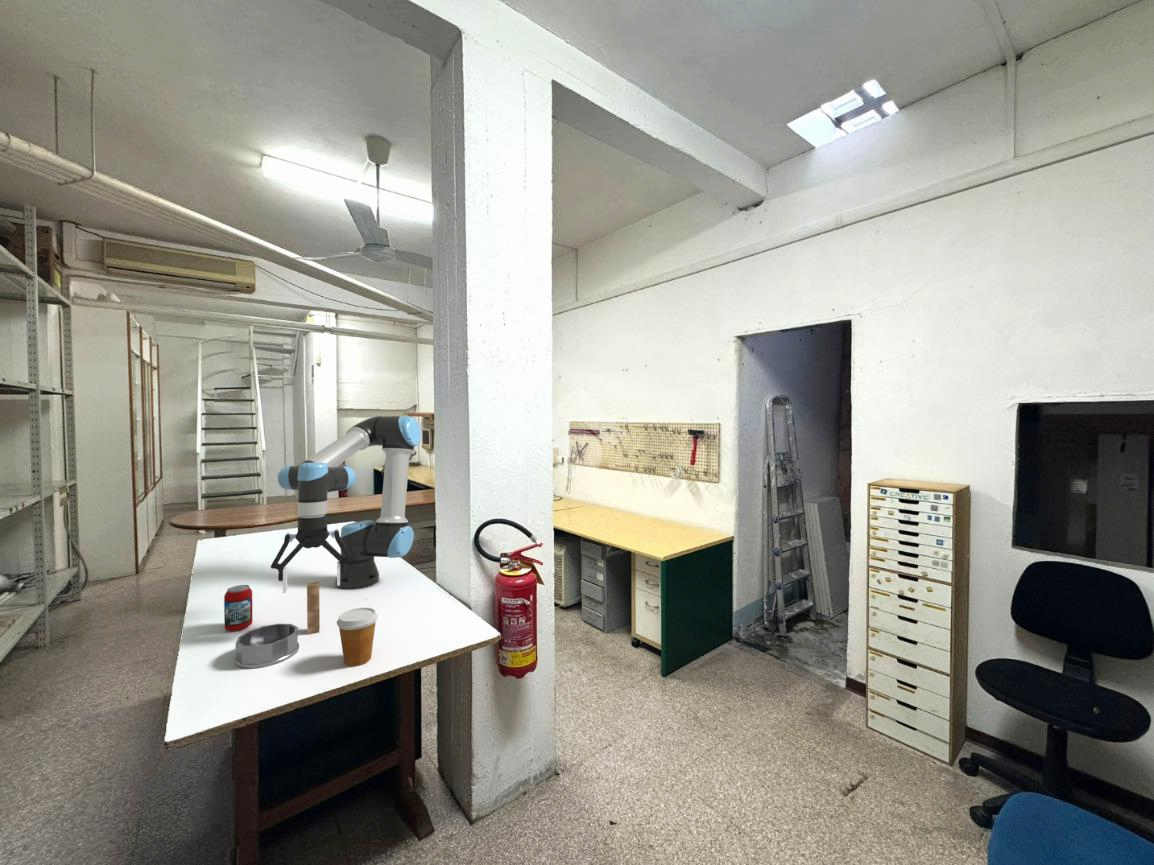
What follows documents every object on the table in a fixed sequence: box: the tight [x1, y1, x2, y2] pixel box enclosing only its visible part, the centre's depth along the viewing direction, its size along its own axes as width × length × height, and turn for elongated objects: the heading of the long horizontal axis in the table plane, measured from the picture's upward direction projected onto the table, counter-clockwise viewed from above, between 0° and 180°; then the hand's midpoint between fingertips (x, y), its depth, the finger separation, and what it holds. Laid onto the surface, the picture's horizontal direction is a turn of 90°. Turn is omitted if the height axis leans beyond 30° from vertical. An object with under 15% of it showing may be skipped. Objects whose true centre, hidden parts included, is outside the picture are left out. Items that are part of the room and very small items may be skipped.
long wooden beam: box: [306, 581, 321, 635], centre depth 133 cm, size 3×3×14 cm
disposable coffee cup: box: [336, 607, 379, 667], centre depth 117 cm, size 10×10×12 cm
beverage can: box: [223, 584, 253, 632], centre depth 136 cm, size 7×7×12 cm
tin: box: [234, 623, 300, 670], centre depth 120 cm, size 14×14×5 cm
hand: (312, 588), depth 133 cm, fingers open, 13 cm apart
